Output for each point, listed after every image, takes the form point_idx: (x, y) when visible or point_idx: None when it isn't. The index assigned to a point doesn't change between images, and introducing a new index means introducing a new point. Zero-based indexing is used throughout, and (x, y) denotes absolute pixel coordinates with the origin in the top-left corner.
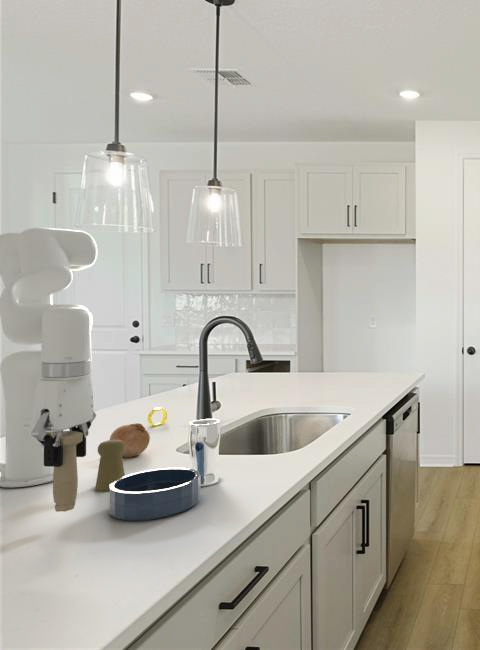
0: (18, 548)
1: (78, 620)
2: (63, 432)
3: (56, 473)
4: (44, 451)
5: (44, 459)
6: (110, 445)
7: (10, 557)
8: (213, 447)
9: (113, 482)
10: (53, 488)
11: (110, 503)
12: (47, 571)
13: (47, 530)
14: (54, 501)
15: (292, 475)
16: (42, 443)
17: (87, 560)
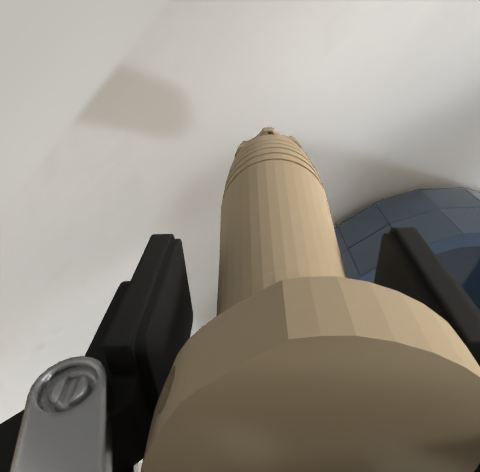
0: (96, 133)
1: None
2: (411, 419)
3: (221, 230)
4: (120, 309)
5: (142, 262)
6: None
7: (47, 161)
8: None
9: (440, 244)
10: (230, 174)
11: (342, 250)
12: (29, 293)
13: (227, 109)
14: (238, 152)
15: None
16: (4, 431)
17: (93, 328)
